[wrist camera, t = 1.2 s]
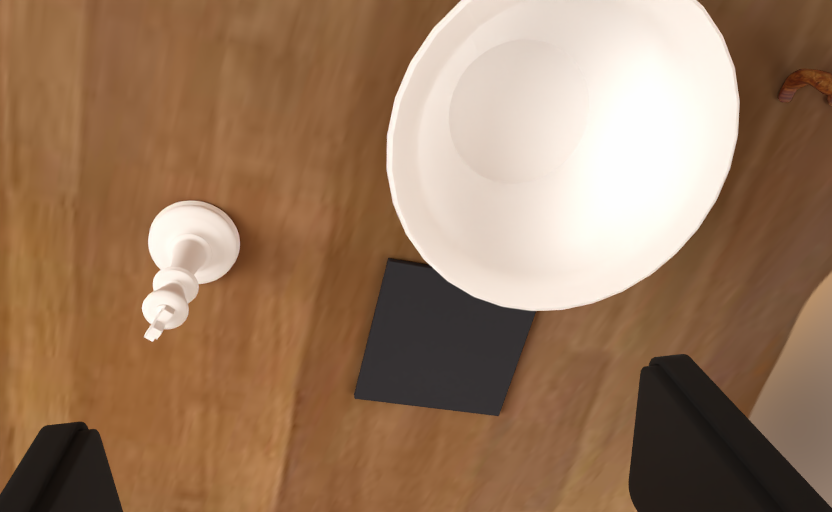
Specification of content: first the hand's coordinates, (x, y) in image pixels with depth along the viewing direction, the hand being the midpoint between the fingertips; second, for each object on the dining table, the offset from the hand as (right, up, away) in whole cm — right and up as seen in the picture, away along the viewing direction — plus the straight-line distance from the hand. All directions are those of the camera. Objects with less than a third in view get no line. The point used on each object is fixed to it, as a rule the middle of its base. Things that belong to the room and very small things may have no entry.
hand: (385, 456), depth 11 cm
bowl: (+6, +12, +25) cm, 28 cm away
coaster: (+3, -2, +31) cm, 31 cm away
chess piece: (-12, +4, +26) cm, 29 cm away
